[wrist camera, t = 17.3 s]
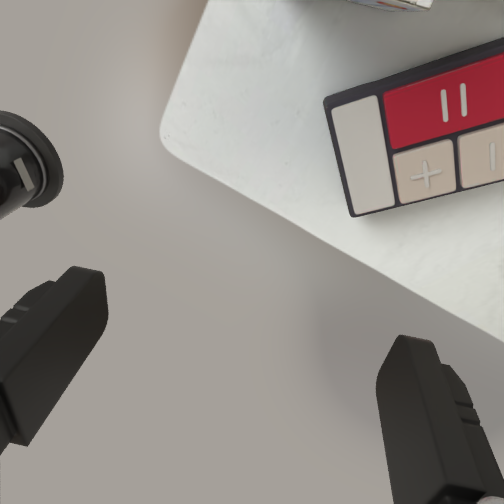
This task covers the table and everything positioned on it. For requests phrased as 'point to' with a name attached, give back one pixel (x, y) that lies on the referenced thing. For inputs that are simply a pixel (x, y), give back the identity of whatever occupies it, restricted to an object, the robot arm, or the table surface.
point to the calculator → (421, 131)
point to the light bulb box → (397, 4)
